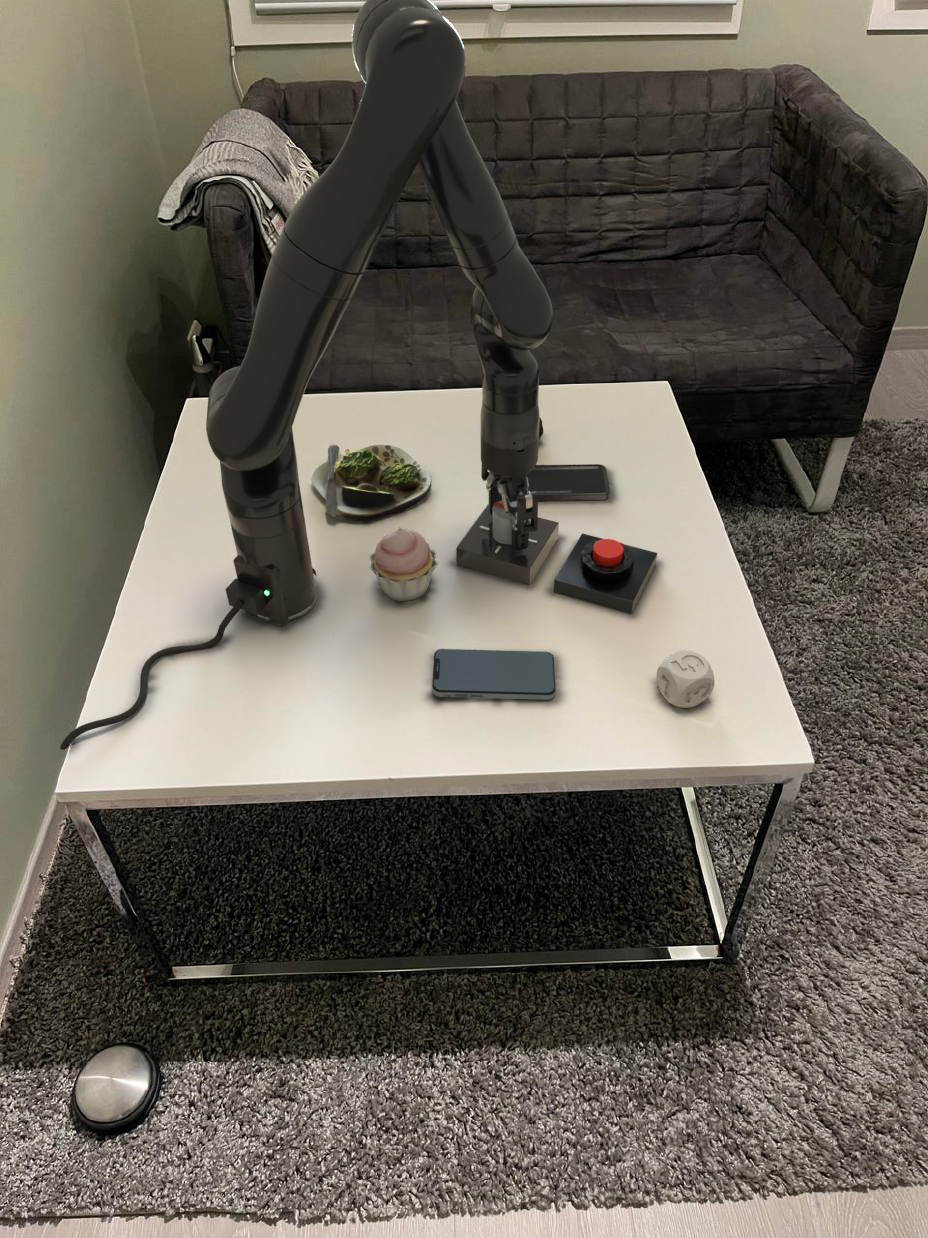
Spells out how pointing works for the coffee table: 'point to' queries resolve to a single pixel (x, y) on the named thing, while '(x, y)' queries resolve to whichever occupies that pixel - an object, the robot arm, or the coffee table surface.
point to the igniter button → (607, 553)
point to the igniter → (605, 576)
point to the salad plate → (370, 482)
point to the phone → (569, 482)
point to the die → (685, 678)
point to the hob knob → (502, 523)
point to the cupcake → (403, 564)
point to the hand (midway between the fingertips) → (508, 530)
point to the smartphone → (493, 674)
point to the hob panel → (506, 550)
